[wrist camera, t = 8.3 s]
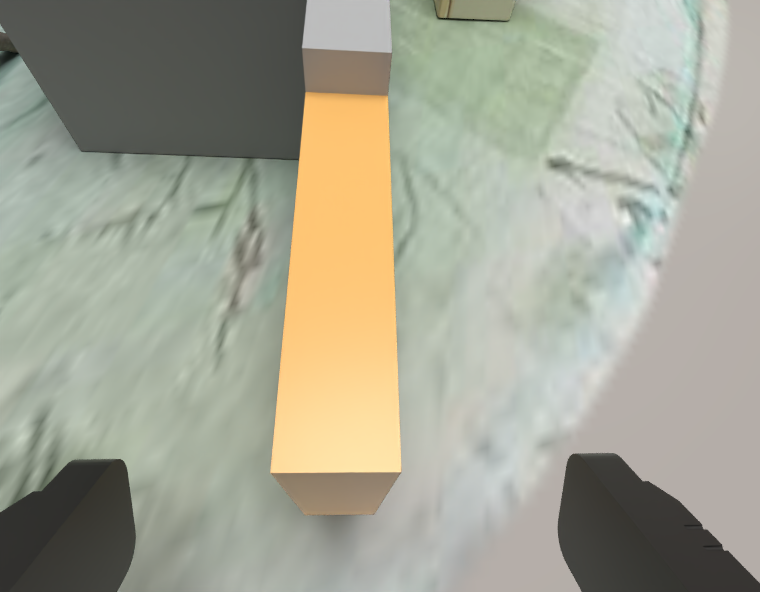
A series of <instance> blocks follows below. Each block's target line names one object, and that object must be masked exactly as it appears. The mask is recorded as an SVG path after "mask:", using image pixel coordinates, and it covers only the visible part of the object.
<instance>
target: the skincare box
mask: <svg viewBox="0 0 760 592" xmlns="http://www.w3.org/2000/svg"><path fill="white" fill-rule="evenodd" d="M434 2H435V7H436V11H437V15H438V17H440V18H460V19H483V20H503V21H507V20H509V19H510V17H511V14H512V11H513V8H514V5H515V2H516V0H434Z"/></svg>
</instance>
